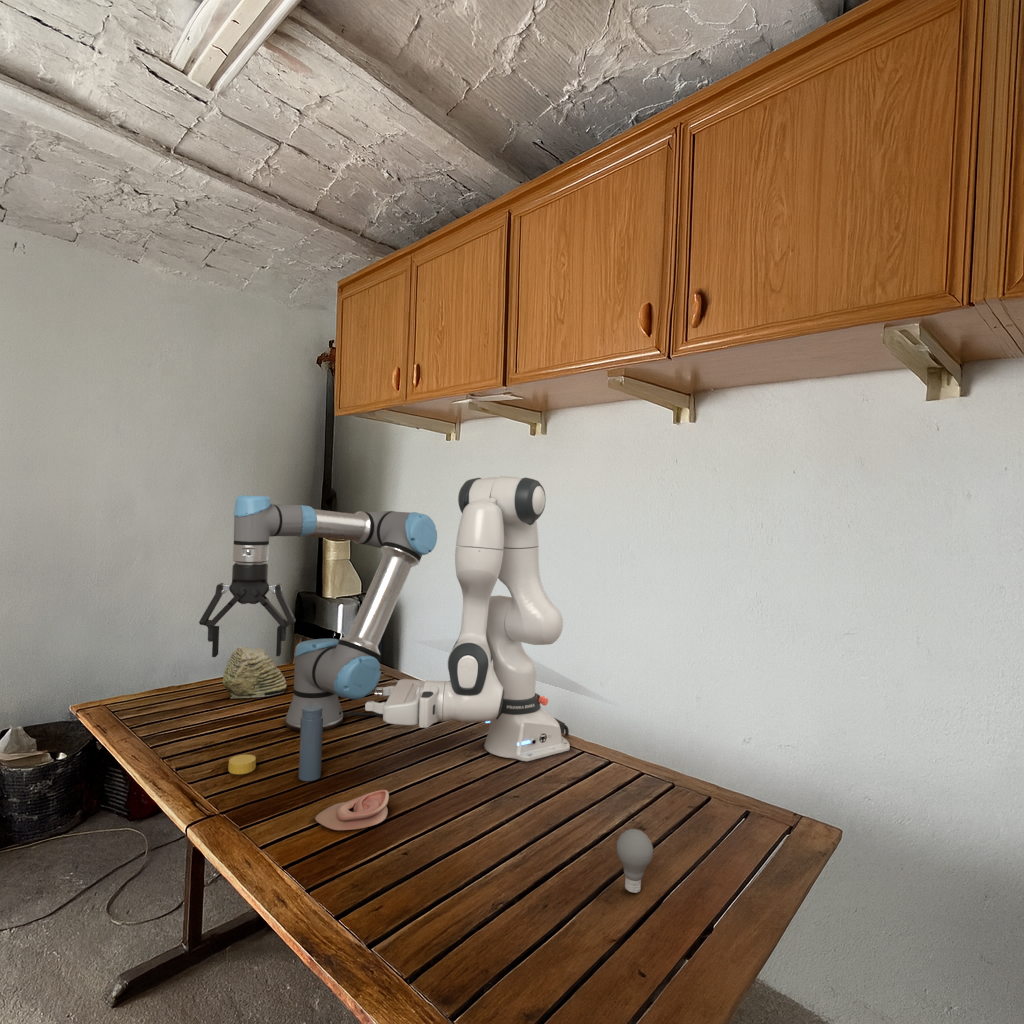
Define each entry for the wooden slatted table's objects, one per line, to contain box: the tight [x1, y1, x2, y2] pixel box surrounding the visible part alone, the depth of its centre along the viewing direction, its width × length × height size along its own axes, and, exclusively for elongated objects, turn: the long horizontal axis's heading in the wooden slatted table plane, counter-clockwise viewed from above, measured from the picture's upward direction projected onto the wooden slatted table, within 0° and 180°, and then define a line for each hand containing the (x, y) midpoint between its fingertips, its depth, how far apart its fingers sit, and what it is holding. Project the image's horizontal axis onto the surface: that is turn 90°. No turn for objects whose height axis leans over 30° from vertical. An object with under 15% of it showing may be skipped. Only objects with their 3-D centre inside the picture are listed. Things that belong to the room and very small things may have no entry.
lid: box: [227, 754, 257, 775], centre depth 145 cm, size 6×6×2 cm
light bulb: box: [615, 828, 654, 894], centre depth 106 cm, size 6×6×10 cm
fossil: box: [222, 646, 288, 699], centre depth 198 cm, size 9×18×15 cm, turn 132°
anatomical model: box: [314, 789, 390, 831], centre depth 126 cm, size 13×4×12 cm
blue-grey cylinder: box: [298, 704, 324, 782], centre depth 143 cm, size 5×5×16 cm
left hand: (247, 655), depth 145 cm, fingers open, 13 cm apart
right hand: (370, 698), depth 143 cm, fingers open, 8 cm apart
